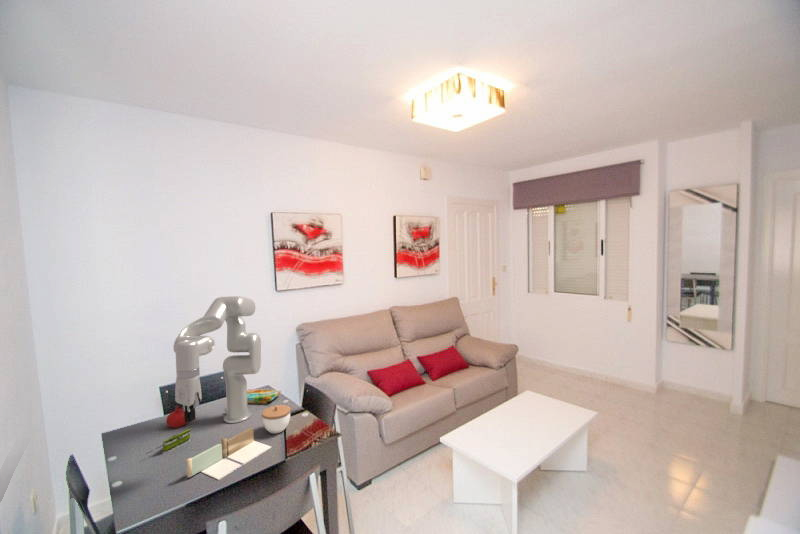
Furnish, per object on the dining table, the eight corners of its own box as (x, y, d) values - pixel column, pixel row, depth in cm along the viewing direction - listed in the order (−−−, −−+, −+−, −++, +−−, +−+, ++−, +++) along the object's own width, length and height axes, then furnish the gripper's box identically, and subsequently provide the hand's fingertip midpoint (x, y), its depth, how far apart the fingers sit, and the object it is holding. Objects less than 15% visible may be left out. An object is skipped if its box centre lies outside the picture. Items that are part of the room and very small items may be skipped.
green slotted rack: (197, 429, 155) (182, 420, 159) (151, 452, 138) (136, 441, 142) (195, 444, 156) (181, 435, 160) (150, 468, 139) (135, 457, 143)
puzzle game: (248, 388, 205) (281, 388, 203) (248, 396, 205) (281, 396, 203) (237, 396, 194) (271, 397, 191) (237, 404, 194) (271, 405, 191)
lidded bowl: (295, 423, 169) (294, 401, 169) (284, 437, 157) (283, 412, 156) (270, 422, 171) (269, 400, 170) (257, 436, 158) (256, 412, 158)
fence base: (221, 457, 141) (220, 439, 141) (251, 440, 154) (250, 423, 153) (224, 458, 140) (223, 440, 140) (254, 441, 153) (253, 424, 152)
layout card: (186, 465, 137) (186, 464, 137) (240, 436, 158) (240, 435, 158) (218, 480, 127) (218, 478, 127) (271, 447, 148) (271, 446, 148)
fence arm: (186, 476, 129) (185, 459, 129) (220, 457, 141) (219, 442, 140) (188, 477, 128) (188, 460, 128) (222, 458, 140) (222, 443, 140)
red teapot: (170, 432, 164) (168, 413, 163) (163, 425, 171) (162, 407, 170) (193, 424, 172) (192, 405, 171) (186, 418, 178) (184, 400, 177)
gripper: (166, 373, 134) (168, 420, 135) (189, 379, 127) (192, 429, 127) (186, 367, 141) (188, 412, 141) (209, 373, 133) (211, 420, 134)
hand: (190, 420), depth 134 cm, fingers closed
